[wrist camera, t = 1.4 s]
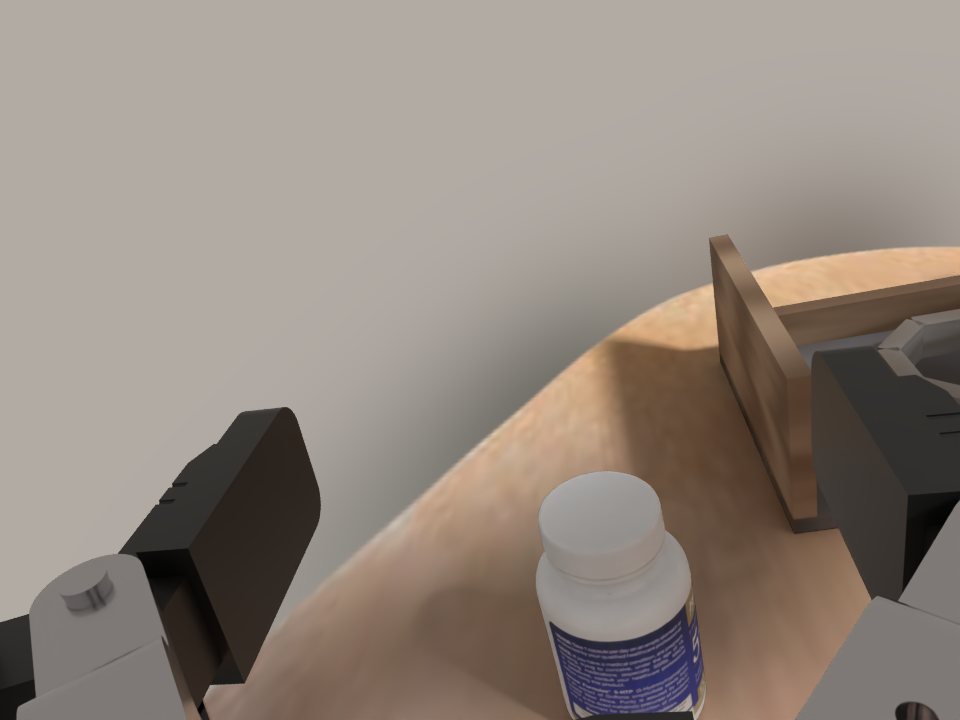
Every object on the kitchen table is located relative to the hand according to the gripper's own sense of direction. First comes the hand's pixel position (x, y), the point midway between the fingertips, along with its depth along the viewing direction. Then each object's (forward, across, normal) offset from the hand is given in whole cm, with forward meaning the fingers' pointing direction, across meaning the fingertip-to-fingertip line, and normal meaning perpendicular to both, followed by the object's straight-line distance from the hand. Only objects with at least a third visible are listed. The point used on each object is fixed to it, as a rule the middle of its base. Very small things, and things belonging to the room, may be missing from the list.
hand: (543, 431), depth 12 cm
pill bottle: (+11, 0, +18) cm, 21 cm away
